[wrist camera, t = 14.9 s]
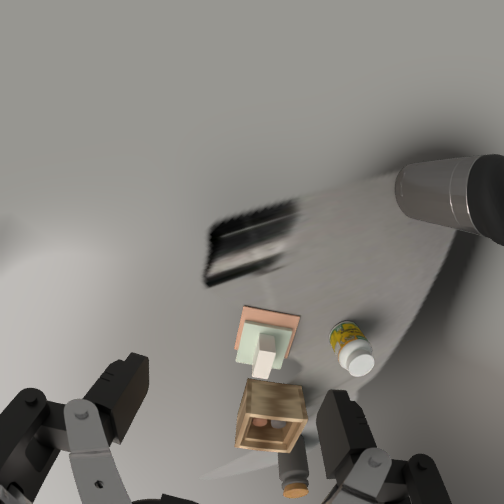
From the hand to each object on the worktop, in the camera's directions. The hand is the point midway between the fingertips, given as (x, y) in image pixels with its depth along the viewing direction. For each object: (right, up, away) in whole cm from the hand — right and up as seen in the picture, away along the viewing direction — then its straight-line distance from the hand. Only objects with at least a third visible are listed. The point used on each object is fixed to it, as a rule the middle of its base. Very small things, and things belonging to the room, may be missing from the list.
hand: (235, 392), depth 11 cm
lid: (+3, -9, +32) cm, 34 cm away
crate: (+4, -22, +36) cm, 42 cm away
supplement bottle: (+16, -8, +32) cm, 37 cm away
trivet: (+3, -7, +32) cm, 33 cm away
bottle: (+9, -35, +39) cm, 53 cm away
